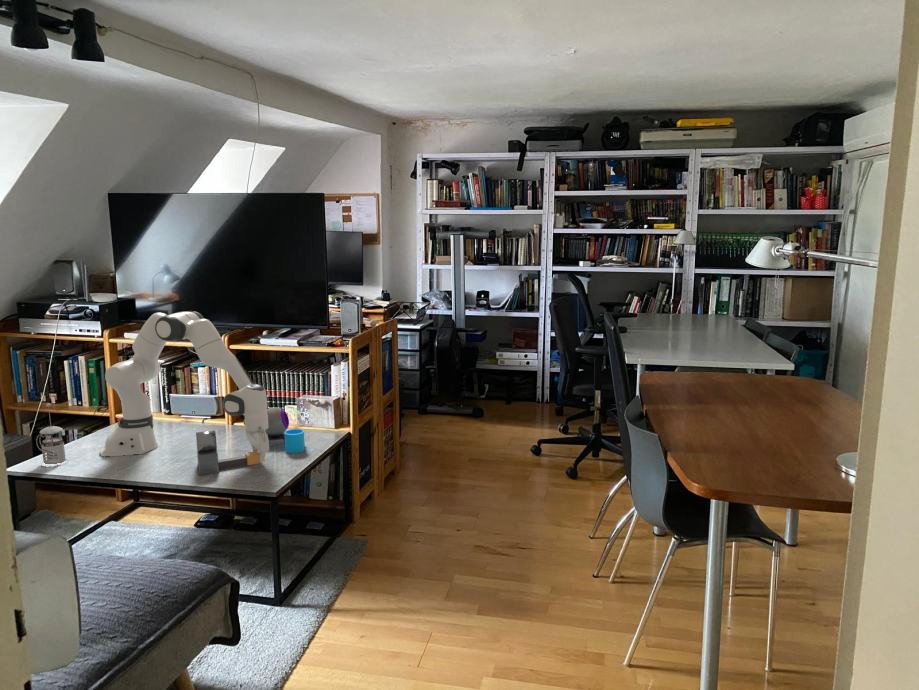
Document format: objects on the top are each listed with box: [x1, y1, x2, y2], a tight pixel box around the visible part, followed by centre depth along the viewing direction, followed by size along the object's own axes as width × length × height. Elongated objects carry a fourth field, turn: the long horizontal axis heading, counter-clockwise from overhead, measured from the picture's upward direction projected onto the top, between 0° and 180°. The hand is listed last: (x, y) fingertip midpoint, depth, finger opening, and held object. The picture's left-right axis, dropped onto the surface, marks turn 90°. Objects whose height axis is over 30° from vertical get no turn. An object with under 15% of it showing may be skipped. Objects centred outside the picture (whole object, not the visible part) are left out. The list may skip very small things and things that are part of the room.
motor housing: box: [195, 429, 220, 476], centre depth 270 cm, size 7×14×15 cm, turn 23°
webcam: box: [265, 406, 290, 446], centre depth 305 cm, size 13×13×15 cm
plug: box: [218, 451, 261, 470], centre depth 275 cm, size 16×4×4 cm, turn 119°
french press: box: [35, 402, 68, 464], centre depth 276 cm, size 10×12×25 cm
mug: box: [284, 428, 306, 454], centre depth 294 cm, size 12×8×8 cm
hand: (258, 457), depth 279 cm, fingers open, 8 cm apart
